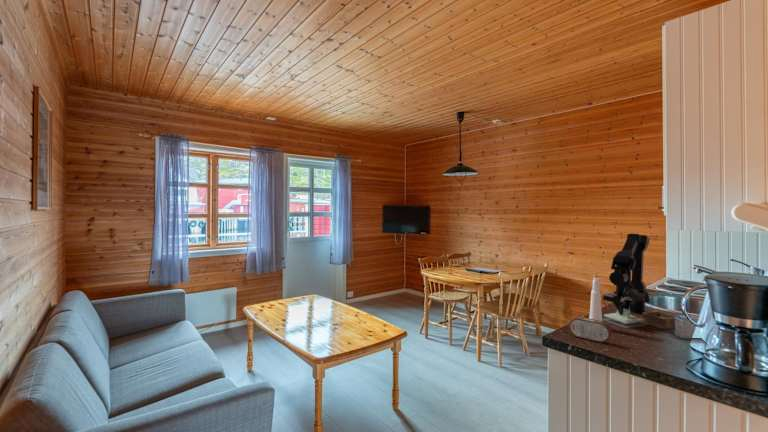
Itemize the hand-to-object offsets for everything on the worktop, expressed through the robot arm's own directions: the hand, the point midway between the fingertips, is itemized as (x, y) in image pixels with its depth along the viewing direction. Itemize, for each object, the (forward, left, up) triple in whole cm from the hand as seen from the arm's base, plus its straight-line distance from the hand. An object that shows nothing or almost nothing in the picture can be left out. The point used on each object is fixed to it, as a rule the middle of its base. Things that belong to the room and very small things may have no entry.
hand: (623, 314), depth 161 cm
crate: (-13, +8, -4) cm, 16 cm away
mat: (0, 0, -4) cm, 4 cm away
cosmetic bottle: (+18, +1, -4) cm, 18 cm away
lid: (0, 0, -3) cm, 3 cm away
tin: (+33, +11, -4) cm, 35 cm away
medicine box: (-8, +22, -4) cm, 24 cm away
